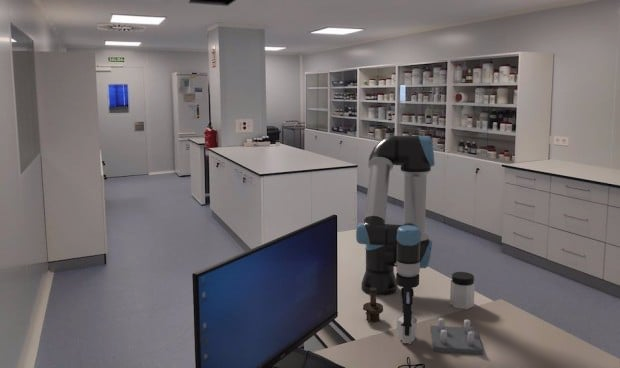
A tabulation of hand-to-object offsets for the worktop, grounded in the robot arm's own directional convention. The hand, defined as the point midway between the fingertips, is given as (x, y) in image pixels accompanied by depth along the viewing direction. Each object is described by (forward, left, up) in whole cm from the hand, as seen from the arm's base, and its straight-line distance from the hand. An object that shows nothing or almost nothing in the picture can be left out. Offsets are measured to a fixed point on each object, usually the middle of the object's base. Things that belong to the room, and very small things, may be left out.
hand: (406, 337), depth 169 cm
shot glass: (0, 0, 0) cm, 0 cm away
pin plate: (0, +16, 0) cm, 16 cm away
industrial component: (-13, -11, -1) cm, 17 cm away
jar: (-30, +22, -1) cm, 37 cm away
